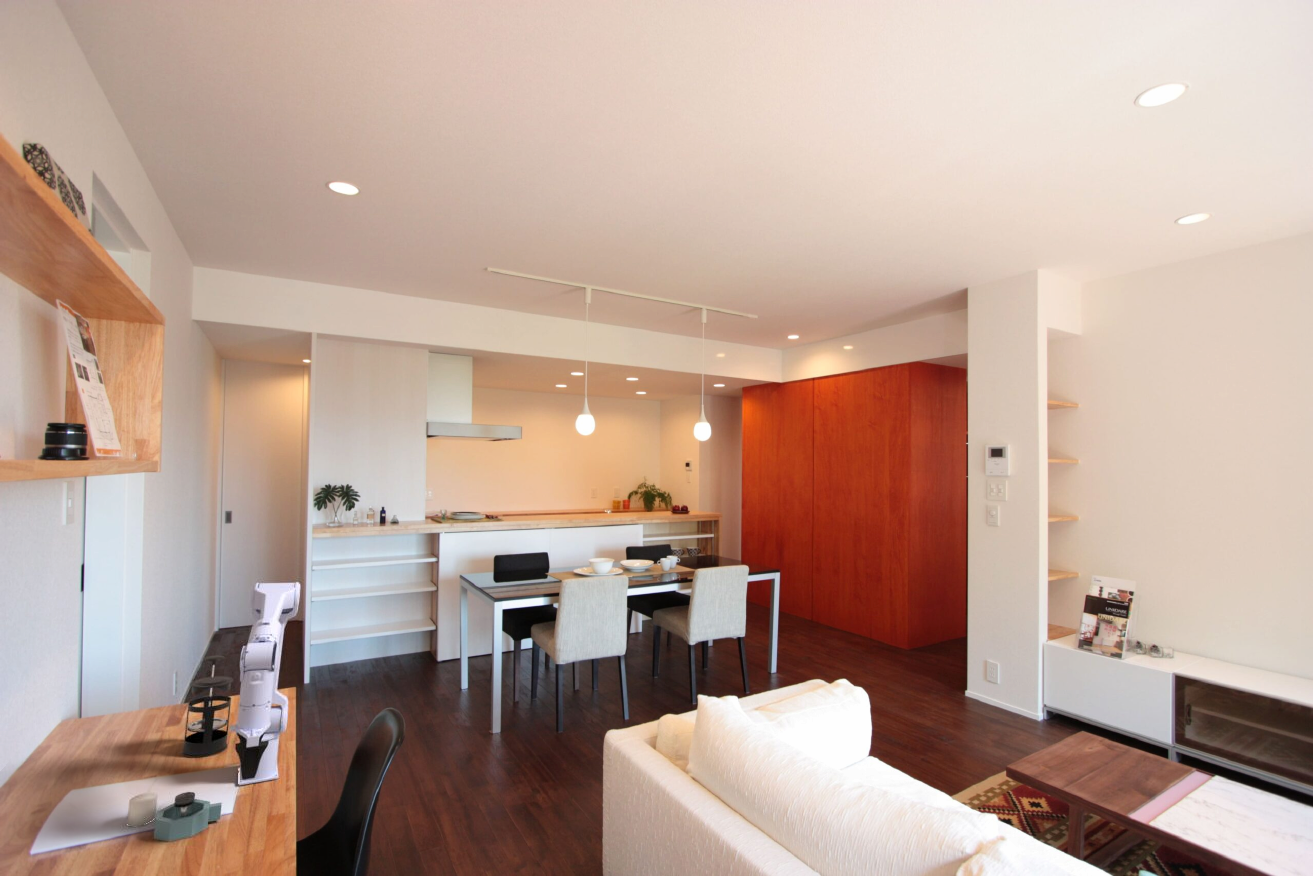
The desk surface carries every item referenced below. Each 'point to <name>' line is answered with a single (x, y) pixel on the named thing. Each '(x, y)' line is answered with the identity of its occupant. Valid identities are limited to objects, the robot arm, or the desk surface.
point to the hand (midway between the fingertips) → (248, 770)
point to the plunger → (184, 802)
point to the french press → (207, 717)
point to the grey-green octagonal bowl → (185, 820)
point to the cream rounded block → (142, 809)
